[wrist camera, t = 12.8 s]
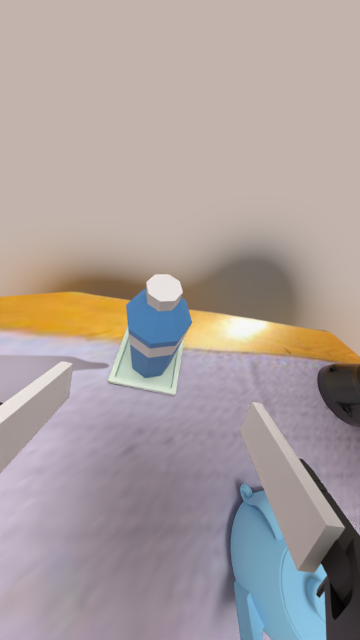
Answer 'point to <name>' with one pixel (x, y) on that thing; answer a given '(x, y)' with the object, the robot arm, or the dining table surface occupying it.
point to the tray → (133, 379)
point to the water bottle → (157, 325)
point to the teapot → (272, 578)
